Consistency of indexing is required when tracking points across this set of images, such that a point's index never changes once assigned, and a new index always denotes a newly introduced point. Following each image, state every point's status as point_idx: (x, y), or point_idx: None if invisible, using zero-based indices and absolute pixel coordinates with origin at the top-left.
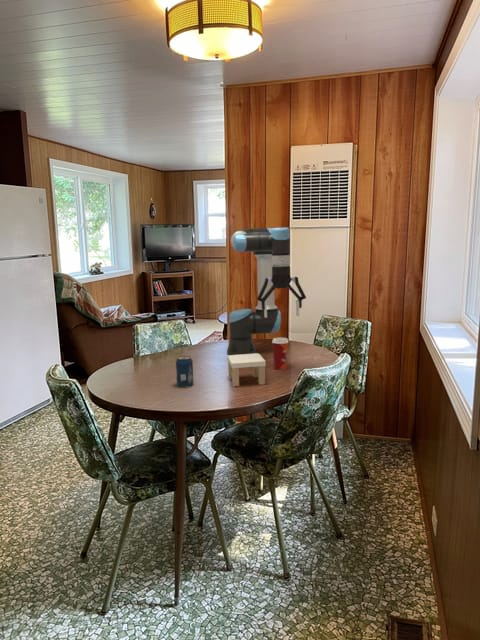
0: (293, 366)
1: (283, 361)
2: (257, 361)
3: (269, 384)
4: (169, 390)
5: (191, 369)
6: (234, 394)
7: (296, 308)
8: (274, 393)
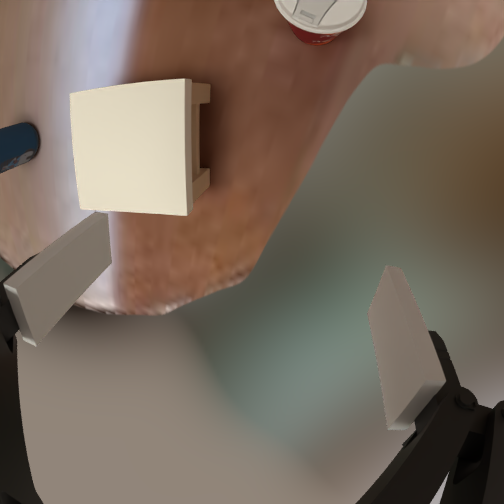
0: (369, 21)
1: (321, 42)
2: (157, 210)
3: (222, 191)
4: (10, 173)
5: (10, 163)
6: (123, 241)
7: (396, 318)
8: (218, 267)
